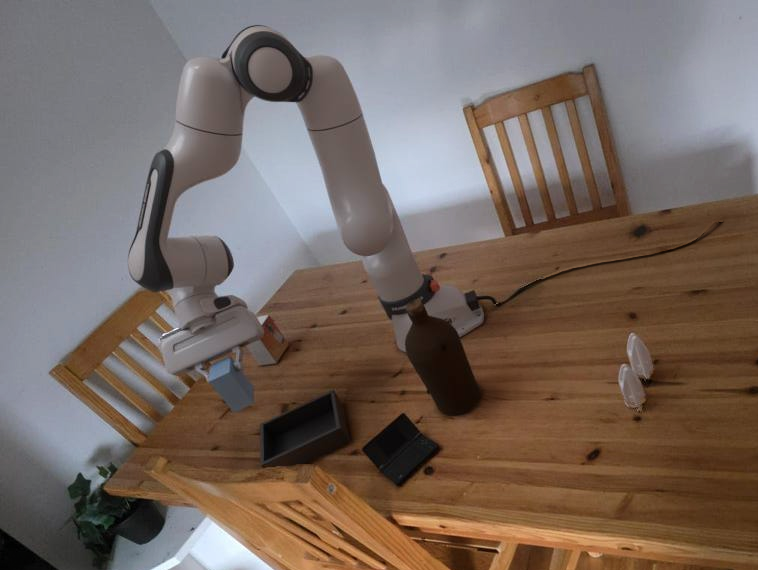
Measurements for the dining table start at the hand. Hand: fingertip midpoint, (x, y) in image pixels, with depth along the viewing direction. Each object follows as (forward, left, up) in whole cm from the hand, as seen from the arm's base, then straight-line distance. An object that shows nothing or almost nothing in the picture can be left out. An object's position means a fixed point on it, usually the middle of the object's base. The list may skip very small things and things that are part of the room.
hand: (226, 376), depth 121 cm
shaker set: (-72, +34, -20) cm, 82 cm away
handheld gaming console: (-27, +24, -20) cm, 41 cm away
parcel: (0, 0, -6) cm, 6 cm away
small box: (-1, -35, -20) cm, 40 cm away
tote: (-8, +6, -20) cm, 22 cm away
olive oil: (-41, +15, -20) cm, 48 cm away
